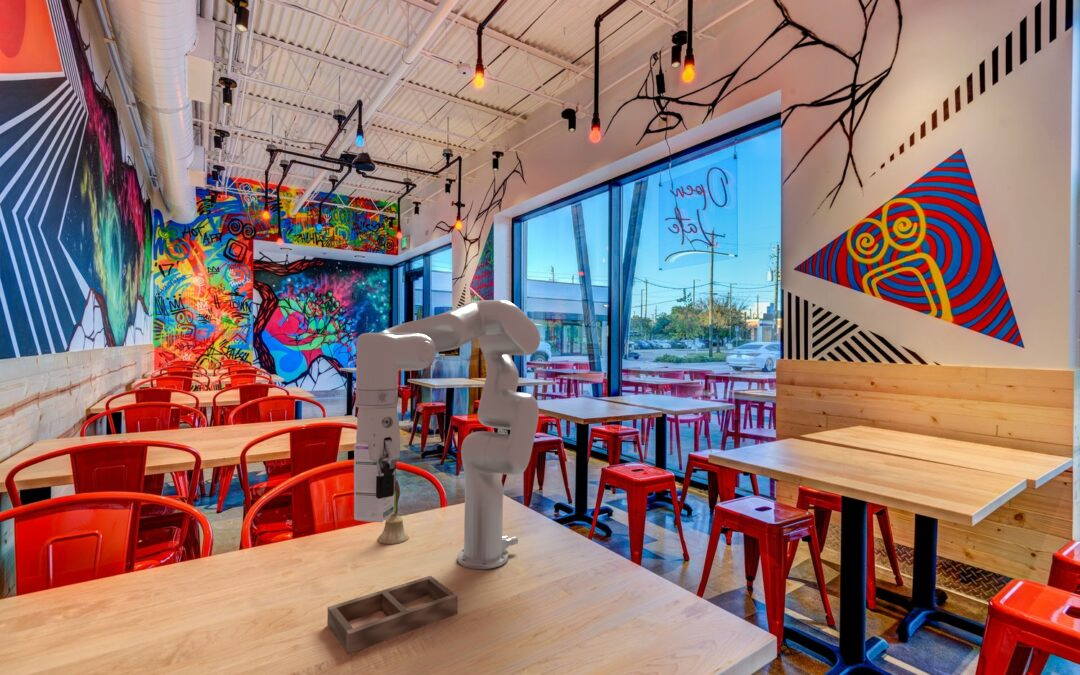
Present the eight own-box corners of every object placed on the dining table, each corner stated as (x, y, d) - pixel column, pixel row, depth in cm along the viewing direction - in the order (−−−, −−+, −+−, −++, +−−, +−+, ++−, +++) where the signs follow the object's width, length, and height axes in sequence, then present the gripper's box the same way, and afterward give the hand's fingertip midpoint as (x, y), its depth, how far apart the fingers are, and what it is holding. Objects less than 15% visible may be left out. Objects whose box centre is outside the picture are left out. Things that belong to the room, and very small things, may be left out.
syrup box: (382, 523, 94) (383, 443, 94) (352, 520, 95) (353, 441, 95) (396, 512, 100) (397, 437, 100) (368, 510, 101) (369, 436, 101)
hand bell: (410, 532, 146) (411, 475, 146) (408, 543, 138) (408, 483, 138) (379, 533, 145) (380, 476, 145) (375, 545, 137) (376, 485, 137)
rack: (430, 591, 112) (430, 575, 112) (457, 613, 103) (457, 596, 103) (327, 625, 98) (327, 607, 98) (348, 654, 90) (348, 633, 90)
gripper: (416, 401, 94) (415, 499, 93) (377, 393, 107) (375, 478, 107) (376, 404, 89) (374, 507, 89) (340, 395, 102) (339, 484, 102)
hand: (375, 491), depth 98 cm, fingers closed on syrup box, 7 cm apart
